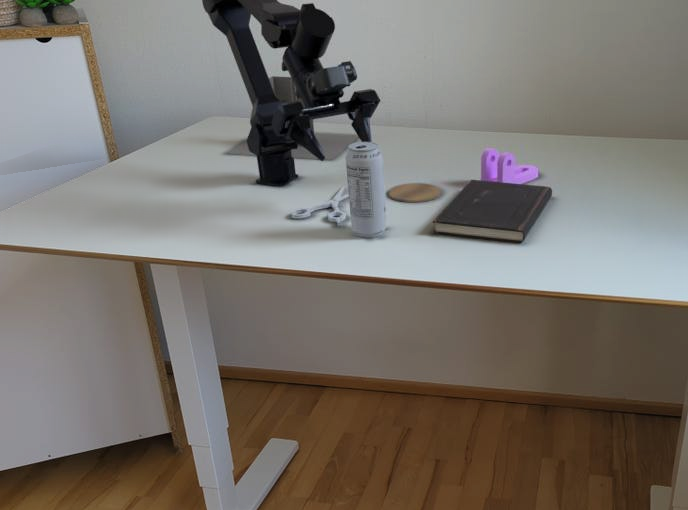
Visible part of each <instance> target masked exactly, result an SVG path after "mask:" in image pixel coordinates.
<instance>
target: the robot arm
mask: <svg viewBox="0 0 688 510" xmlns="http://www.w3.org/2000/svg"><path fill="white" fill-rule="evenodd" d="M201 2H202V7H203V10H204V11H205V13H206V14H208V18H209V19H210V21H211V24H212V25H213V27H214V28H216V29H217V30H219V32H221V33H222V34H223V35H224V36H225V37H226V40H227V42H228V45H229V47H230V49H231V53H232V55H233V58H234V60H235V63H236V66H237V68H238V71H239V74H240V76H241V79H242V82H243V84H244V87H245V89H246V92H247V95H248V97H249V100H250V103H251V106H252V109H251V114H250V118H249V123H250V130H249V133H248V136H247V138H246V141H247V145H248V148H249V151H250V152H252V153H253V154H255V155H254V156H256V155H257V156H256V161H257V169H258V175H259V178H257V179H255V183H256V184H261V185H269V186H278V187H284V186H286V185H288V184H290V183H291V182H293V181H295V180H296V179H298V178H299V174H297V173H296V164H295V158H293V157H292V153H291V150H292V149H298V144H299V145H301V146H302V147H304V148H305V149H307V150H308V151H309V152H310V153H312V154H313V155H314V156H316V157H317V158H318V159H317V160H319V161H321V162H324V161H325V160H324V159H325V155H324V153H323V150H322V148H321V146H320V144H319V142H318V140H317V138H316V137H315V135H314V133H315V132H314V133H313V131H312V129H311V126H310V121H309V120H313V121H314V120H319V119H325V118H331V117H335V116H341V115H342V116H343V115H347V117H348V119H349V120H351V121H352V122H351V124H350V125H351V127H352V129H353V130H354V132H355V133H356V136H358V139H359V140H360V142H373V140H372V130H371V118H372V116H374V113H375V111H376V110H377V108H378V106H379V105H380V103H381V102H382V101H381V99H380V96H379V95H378V93H377V91H376V90H375V89H372V88H367V89H361V90H355V91H353V93H352V95H351V97H350V99H349V100H347V101H346V100H345V101H340V98H343V96H344V95H345V92H344V89H345V88H347V87H350V86H351V84H352V83H353V82H355V81H356V80H357V79H358V74H357V70H356V67H355V66H354V64H353V63H352V61H351V60H349V61H342V62H341V63H340V64H338V65H336V66H330V67H324V66H323V63H322V62H321V60H320V59H321V58H322V57H323V56H324V55H325V54H326V51H327V49H328V47H329V45H330V42H331V39H332V37H333V36H334V33H335V30H336V24H335V21H334V19H333V17H332V16H330V15H329V14H328V13H327V12H326V11H323V10H321V9H319V8H316V6H315V4H314V3H313V2H310V3H302V4H301V6H300V9H299V8H297V7H295V6H294V5H290V4H285V3H282V2H280V1H279V0H201ZM251 17H253V18H254V19H255V20H256V21H257V22H258V23H259V24H260V28H261V29H260V34H261V36H262V37H263V39H264V40H265V41H264V42H266V43H267V45H269V47H270V48H272V49H273V50H275V49H282V48H283V49H285V50H284V52H283V55H282V62H281V71H282V72H287V71H288V73H289V77H291V78H292V80H293V82H294V84H295V86H296V88H297V90H296V92H295V95H296V97H297V98H302V100H303V103H304V105H305V107H306V108H304V109H303V106H302V104H301V102H298V101H294V102H287V101H286V100H279V99H278V98H277V97H276V96H275V93H274V91H273V88H272V86H271V83H270V80H269V78H270V77H269V75H268V73H267V70H266V67H265V64H264V62H263V59H262V57H261V54H260V51H259V48H258V46H257V44H256V40H255V38H254V36H253V33H252V31H251V28H250V22H251Z"/></svg>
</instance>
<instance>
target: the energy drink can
mask: <svg viewBox="0 0 688 510" xmlns="http://www.w3.org/2000/svg"><path fill="white" fill-rule="evenodd" d="M347 148H348V150H347V152H346V155H345V168H346V179H347V190H348V191H347V192H348V193H349V197H348V203H349V214H350V226H351V231H353V232H354V234H355V235H356V236H357V237H358V238H359V237H360V238H365V239H366V238H367V239H371V238H377V237H380V236H382V235H383V234H384V233H385V232H384V231H385V230H386V229H387V227H388V226H387V212H386V211H387V210H386V209H387V208H386V193H385V178H384V177H385V176H384V175H385V174H384V160H383V159H384V158H383V153H382V152H381V151H380V149H379V144H378V143H376V142H373V141H372V142H362V141H358V142H352V143H351V144H350V145H349V146H348V147H347Z"/></svg>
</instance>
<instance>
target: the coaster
mask: <svg viewBox="0 0 688 510" xmlns="http://www.w3.org/2000/svg"><path fill="white" fill-rule="evenodd" d="M388 196H389V197H390V198H391V199H392V200H395V201H398V202H403V203H424V202H430V201H432V200H436V199H437V198H438V197H440V196H441V189H440V188H439V187H438V186H435V185H433V184H428V183H422V182H421V183H420V182H413V183H411V182H410V183H403V184H399V185H396V186H394V187H392V188H390V190H389V191H388Z"/></svg>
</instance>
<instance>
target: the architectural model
mask: <svg viewBox="0 0 688 510" xmlns="http://www.w3.org/2000/svg"><path fill="white" fill-rule="evenodd" d="M268 78H269V80H270V83H271V86H272V88H273V91H274V93H275V96H276V97H277V98H278V99H279V100H286V101H287V102H294V101H298V102H301V104H302V106H303V109H304V108H306V107H305V105H304V103H303V100H302V98H297V97H296V95H295V92H296V90H297V88H296V86H295V84H294V82H293V80H292V78H291V76H274V75H273V76H270V77H268ZM309 121H310V126H311V129H312V131H313V133H314V135H315V137H316V138H317V140H318V142H319V144H320V146H321V148H322V150H323V153H324V155H325V159H324V161H325V160H326V161H332V160H334V159H335V158H336V157H337V156H339V155H340V154H341V153H342V152H343V151H344V150H346V149H347V148H348V146H349V145H350V144H353V143H355V141H356V140H357V139H359V137H358V135H357V134H356V135H355V134H336V133H335V134H333V133H315V125H314V119H313V120H309ZM291 153H292V157H293V158H294V159H310V160H319V159H318V158H317V157H316V156H314V155H313V154H312V153H310V152H309V151H308V150H307V149H305V148H304V147H302V146H301V145H299V144H298V149H292V150H291ZM226 155H238V156H239V155H240V156H241V155H242V156H256V157H257V155H255V154H253V153H252V152H250V151H249V148H248V145H247V140H245V141H244V142H242V143H241V144H239V145H237V146H236V147H234V148H233V149H231V150H229V151H228V152H226Z"/></svg>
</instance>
